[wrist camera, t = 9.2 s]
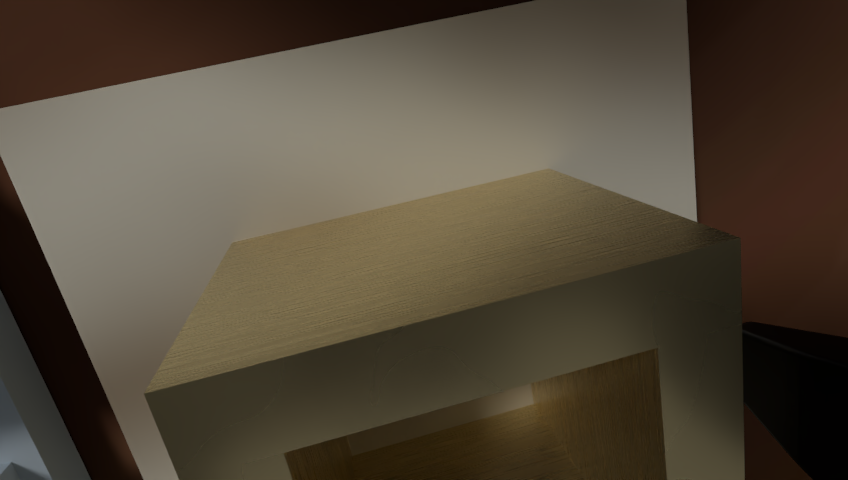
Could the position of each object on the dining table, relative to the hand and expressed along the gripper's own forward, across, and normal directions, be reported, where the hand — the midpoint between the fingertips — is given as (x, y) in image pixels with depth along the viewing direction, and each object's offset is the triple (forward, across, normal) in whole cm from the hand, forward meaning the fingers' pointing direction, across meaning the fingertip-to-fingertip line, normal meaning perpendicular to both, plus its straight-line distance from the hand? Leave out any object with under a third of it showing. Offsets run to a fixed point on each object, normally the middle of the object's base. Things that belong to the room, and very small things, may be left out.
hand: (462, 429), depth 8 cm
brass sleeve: (+3, 0, 0) cm, 3 cm away
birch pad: (+4, 0, 0) cm, 4 cm away
